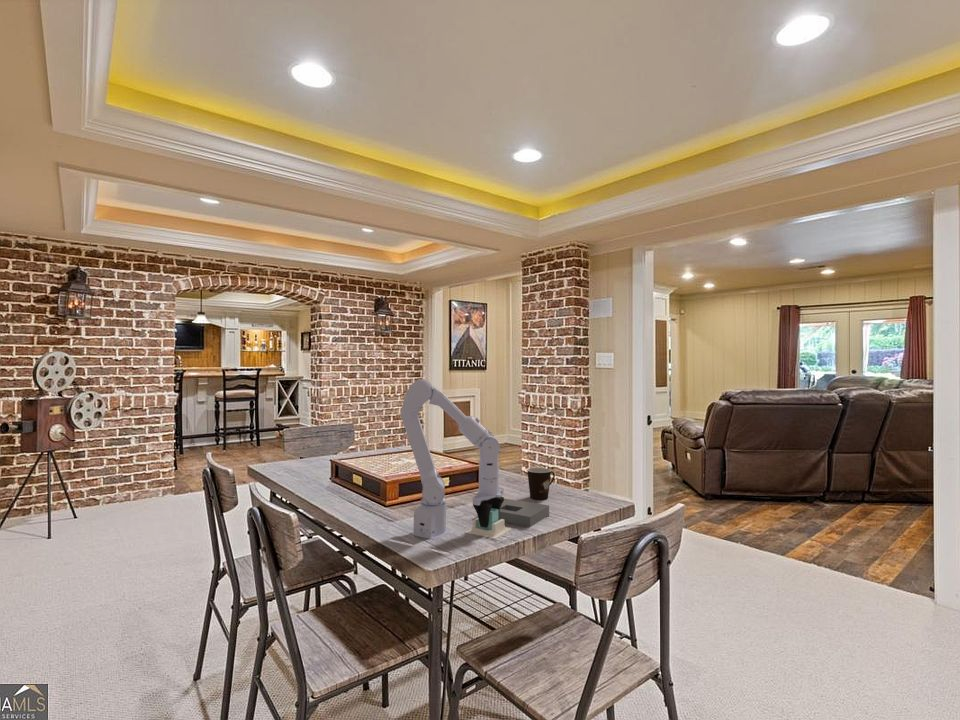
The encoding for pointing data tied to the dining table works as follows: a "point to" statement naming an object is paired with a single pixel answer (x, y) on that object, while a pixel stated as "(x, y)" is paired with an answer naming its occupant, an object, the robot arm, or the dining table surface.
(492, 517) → the plug
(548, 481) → the coffee mug
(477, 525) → the beige square holder
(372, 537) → the dining table surface
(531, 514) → the block
